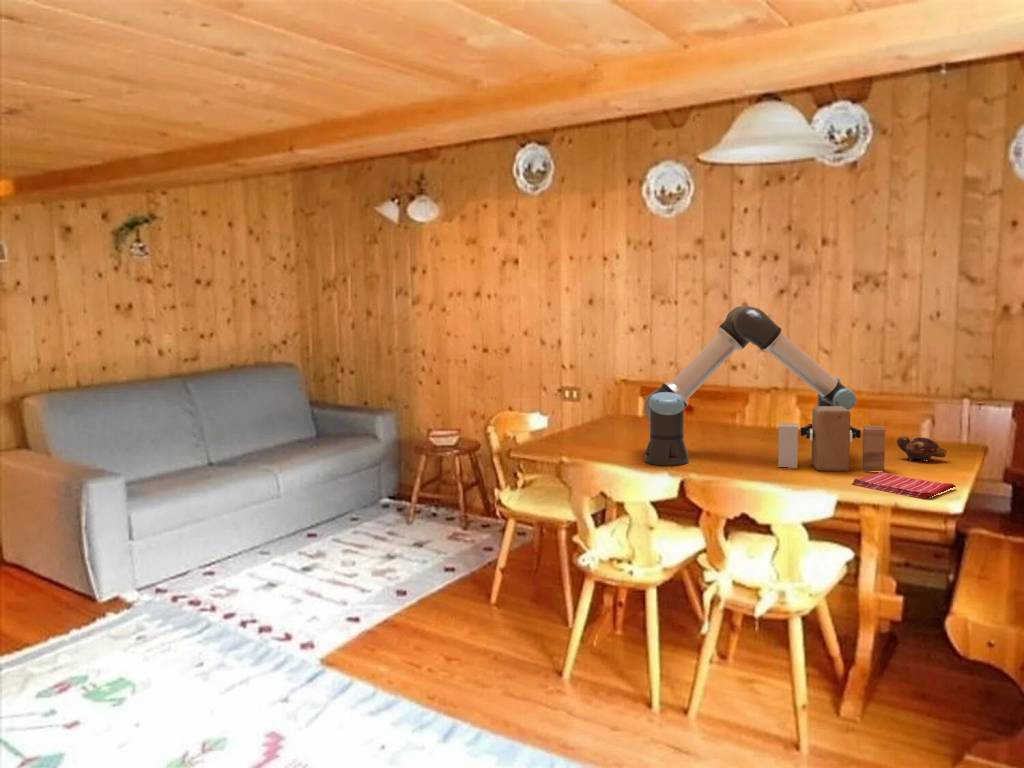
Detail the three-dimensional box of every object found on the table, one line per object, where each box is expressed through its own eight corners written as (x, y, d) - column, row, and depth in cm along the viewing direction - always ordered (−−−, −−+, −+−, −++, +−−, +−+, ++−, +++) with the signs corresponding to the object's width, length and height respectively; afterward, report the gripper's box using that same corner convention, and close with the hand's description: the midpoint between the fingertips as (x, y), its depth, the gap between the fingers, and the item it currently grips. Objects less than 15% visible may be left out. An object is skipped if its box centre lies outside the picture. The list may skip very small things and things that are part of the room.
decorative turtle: (894, 455, 282) (896, 433, 281) (943, 461, 276) (946, 438, 275) (896, 460, 273) (898, 437, 272) (946, 466, 267) (949, 442, 266)
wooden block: (849, 471, 261) (851, 410, 259) (817, 471, 263) (818, 410, 260) (842, 464, 271) (843, 405, 268) (810, 464, 273) (812, 405, 270)
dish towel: (928, 502, 227) (929, 493, 226) (850, 486, 246) (850, 477, 245) (958, 491, 237) (958, 482, 237) (880, 477, 256) (880, 468, 255)
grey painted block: (797, 468, 268) (798, 426, 266) (778, 467, 270) (778, 426, 268) (797, 464, 273) (798, 423, 271) (778, 463, 275) (779, 423, 273)
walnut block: (883, 472, 259) (885, 429, 257) (863, 471, 261) (864, 429, 259) (882, 468, 264) (883, 426, 262) (862, 467, 266) (863, 425, 265)
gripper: (865, 437, 279) (870, 450, 258) (792, 434, 287) (792, 447, 266) (866, 415, 278) (871, 427, 257) (793, 413, 286) (792, 424, 265)
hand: (831, 437), depth 262 cm, fingers closed on wooden block, 11 cm apart
